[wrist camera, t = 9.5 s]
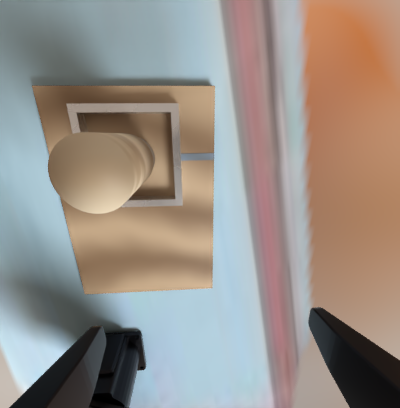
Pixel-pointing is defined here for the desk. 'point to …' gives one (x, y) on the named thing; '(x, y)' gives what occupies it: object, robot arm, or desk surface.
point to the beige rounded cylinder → (99, 169)
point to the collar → (80, 110)
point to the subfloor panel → (144, 191)
